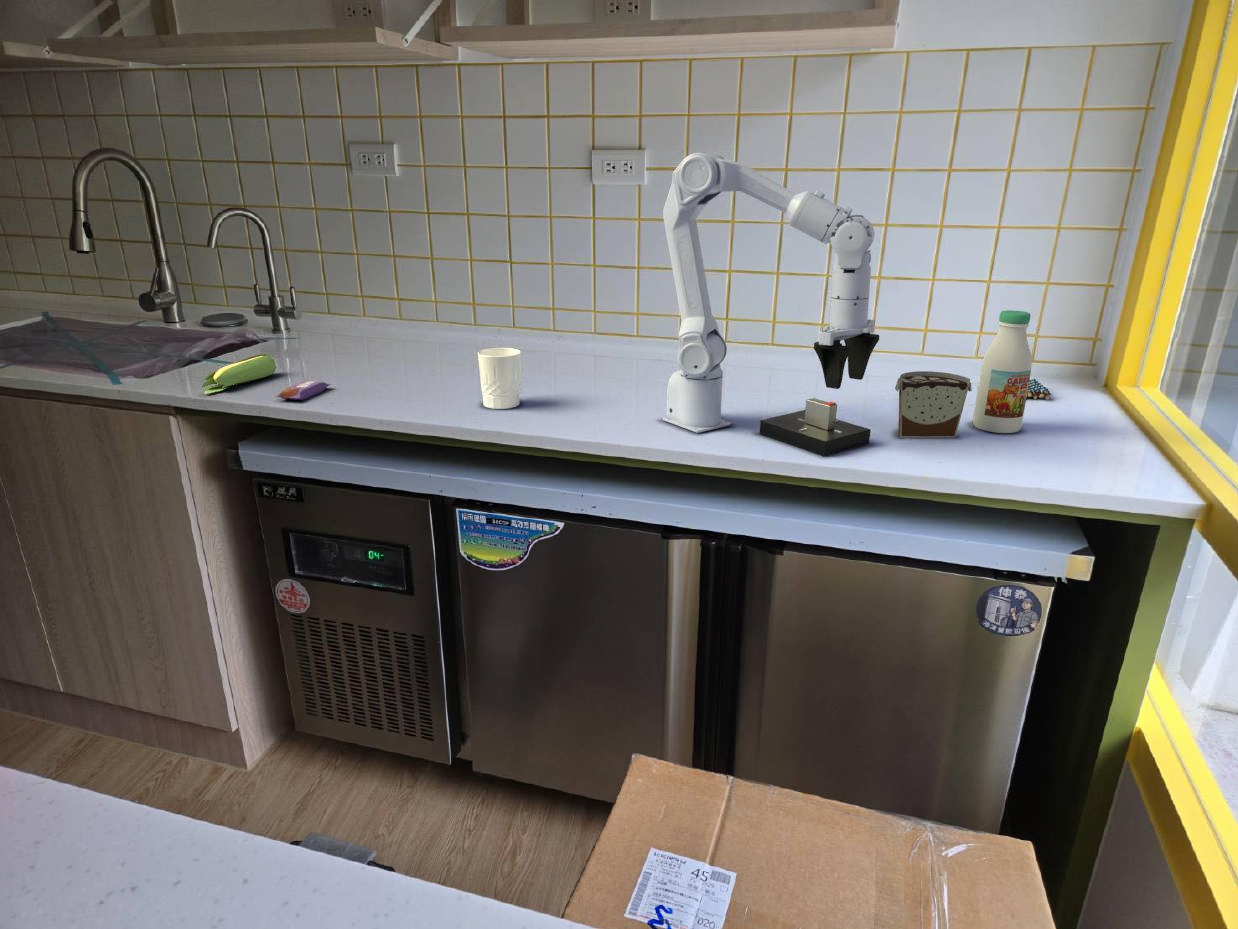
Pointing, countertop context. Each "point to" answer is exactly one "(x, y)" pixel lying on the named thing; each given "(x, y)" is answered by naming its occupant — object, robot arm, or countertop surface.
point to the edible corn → (241, 372)
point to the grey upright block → (820, 413)
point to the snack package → (303, 390)
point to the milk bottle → (1004, 376)
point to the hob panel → (814, 434)
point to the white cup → (500, 377)
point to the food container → (930, 404)
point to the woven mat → (1037, 390)
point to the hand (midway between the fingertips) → (844, 383)
